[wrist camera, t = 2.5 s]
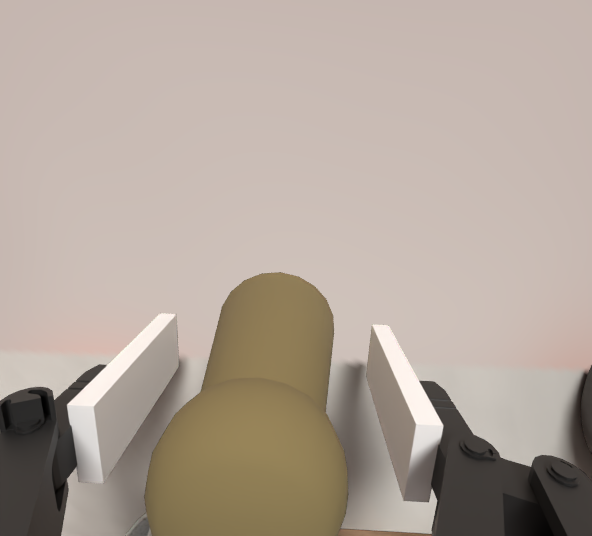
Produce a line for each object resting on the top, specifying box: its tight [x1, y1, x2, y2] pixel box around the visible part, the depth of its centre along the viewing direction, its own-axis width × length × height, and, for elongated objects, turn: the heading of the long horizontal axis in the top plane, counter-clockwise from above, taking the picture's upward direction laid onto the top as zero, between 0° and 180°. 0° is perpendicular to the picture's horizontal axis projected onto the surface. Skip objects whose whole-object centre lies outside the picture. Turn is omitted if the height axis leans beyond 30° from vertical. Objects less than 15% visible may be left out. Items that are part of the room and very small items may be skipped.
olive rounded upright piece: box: [144, 272, 348, 536], centre depth 13 cm, size 6×6×11 cm
